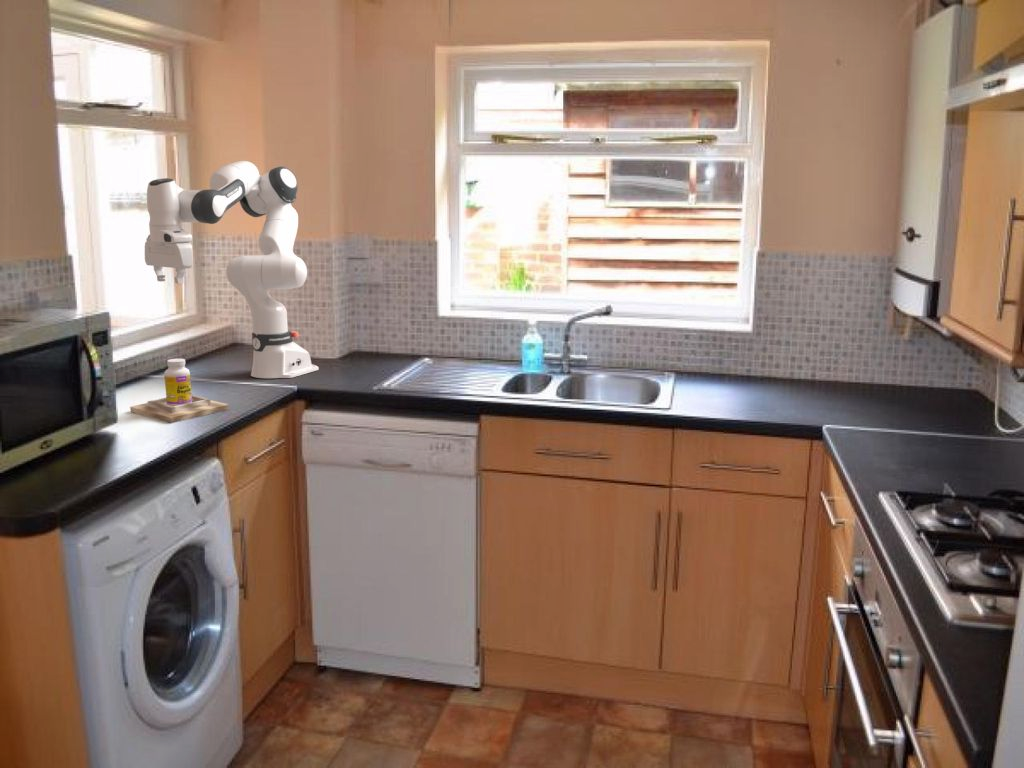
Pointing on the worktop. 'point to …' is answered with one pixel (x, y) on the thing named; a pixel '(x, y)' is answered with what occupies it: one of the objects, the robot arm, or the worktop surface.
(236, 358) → the worktop surface
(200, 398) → the pocket board
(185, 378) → the supplement bottle
